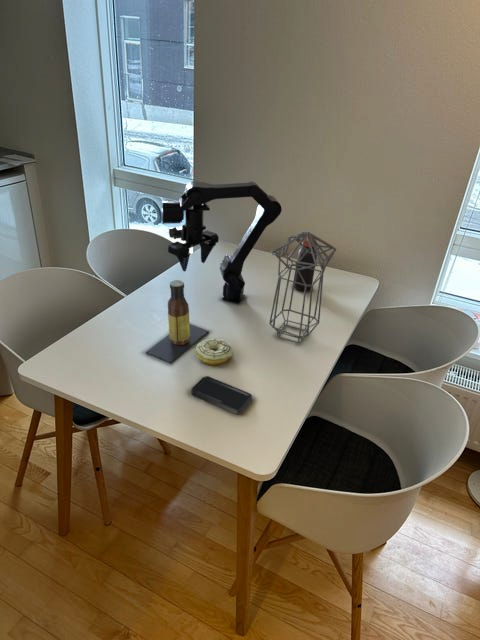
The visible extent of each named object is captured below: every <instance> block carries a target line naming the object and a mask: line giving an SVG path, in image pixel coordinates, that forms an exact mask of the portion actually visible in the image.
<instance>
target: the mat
mask: <svg viewBox="0 0 480 640" xmlns="http://www.w3.org/2000/svg"><path fill="white" fill-rule="evenodd" d="M189 324H190V340H189V342H188V343H187V344H184V345H175V344H172V342H171V341H170V337H169V334H168V335H166V336H165V337H164V338H162V339H161V340H159V341H158V342H157V343H156V344H154V345H153V346H152V347H151V348H149V349H148V350H147V351H145V354H147V355H149V356H152V357H153V358H156V359H159V360H160V361H164V362H166V363H168V364H172V363H173V362H175V361H176V360H177V359H178V358H179V357H181V356H182V355H183V354H184V353H185V352H186V351H187V350H189V349H190V348H191V347H192V346H194V345H195V344H196V343H197V342H199V341H200V340H201V339H202V338H203V337H205V336H206V335H207V333H209V330H208V329H204V328H202V327H199V326H197V325H194V324H191V323H189Z"/></svg>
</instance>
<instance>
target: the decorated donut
mask: <svg viewBox="0 0 480 640" xmlns="http://www.w3.org/2000/svg"><path fill="white" fill-rule="evenodd" d="M233 349H234V348H233V347H232V345H231V344H230V343H229V342H228V341H227V340H224V339H222V338H207V339H204V340H201V341H199V343H198V344H196V348H195V355H196V356H197V358H198V359H199V360H200V361H201V362H202V363H204V364H207V365H210V366H217V365H223V364H225V363H226V362H227V361H228V360H229V359H230V358H231V357H232V356H233V355H234V350H233Z"/></svg>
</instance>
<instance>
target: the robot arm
mask: <svg viewBox="0 0 480 640" xmlns="http://www.w3.org/2000/svg"><path fill="white" fill-rule="evenodd" d="M238 198H239V199H240V198H252V199H253V200H255V202H256V203H257V204H258V205H257V208H256V213H255V217H254V219H253V220H252V223H251V225H250V226H249V227H248V229H247V231H246V233H245V234H244V235H243V237H242V239H241V240H240V242H239V243H238V245H237V247H236V248H235V250H234V252H233V253H232V254H230V255H227V254H225V255H224V257H223V259H222V261H221V262H220V263H219V271H220V273H221V277H222V279H223V281H224V285H223V286H222V297H221V300H222V301H225V302H229V303H232V304H236V305H237V304H238V305H239V304H240V303H241V302H242V301H243V300H244V298H245V297H246V295H245V294H244V293H245V292H244V291H245V285H246V282H245V279H244V277H243V274H242V272H243V268H244V263H245V261H246V259H247V258H248V256H249V255H250V253H251V252H252V250H253V249H254V247H255V245H256V243H257V242H258V240H259V239H260V237H262V235H263V233H264V231H265V229H266V228H267V227H269V225H271V224H272V223H274V222H275V221H276V220H277V219H278V218H279V216H280V215H281V213H282V211H283V208H282V205H281V203H280V202H279V201H278V200H277V199H276V197H275V196H274V195H272V194H271V195H269V194H267V192H265V191H264V190H263V189H262V188H261V187H260V186H259V185H258V183H256V182H255V181H249V182H234V183H219V184H215V183H214V184H212V183H207V182H203V181H195V180H193V181H189V182H188V183H187V184H186V185H185V188H184V192H183V193H182V194H181V196H180V197H179V198H178V201H167V200H162V206H161V223H162V224H181V223H183V221H184V219H185V223H184V224H182V225H181V226H179V227H176V226H174V227H172V226H171V227H170V228H168V236H169V238H170V239H172V238H173V240H176V239H180V241H178V240H177V241H175V242H172V243H169V244H168V245H167V253H168V254H171V255H173V256H175V257H176V258H177V261H178V263H179V265H180V268H181V270H182V271H183V272H187V269H188V265H189V261H190V256H191V255H190V254H189V253H190V249H192V248H194V247H197V246H200V261H201V263H202V264H205V263H206V261H207V259H208V257H209V256H210V254H211V252H212V250H213V249H214V248H215V246H216V245H217V244H218V243H219V239H220V237H219V235H218V234H217V233H216V232H213V231H211V230H208V229H207V226H206V225H204V211H205V212H206V211H210V210H211V208H210V206H209V205H208V203H209V202H212V201H214V200H220V199H221V200H224V199H238ZM206 229H207V230H206ZM181 241H182V242H181ZM183 242H184V243H183Z"/></svg>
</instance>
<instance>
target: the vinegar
mask: <svg viewBox="0 0 480 640" xmlns="http://www.w3.org/2000/svg"><path fill="white" fill-rule="evenodd" d="M315 241H316V242H318V240H316V239H315ZM306 242H308V238H306ZM301 243H302V244H303V242H301ZM311 244H312V241H311ZM304 246H305V247H306V248H307V249H309V246H310V245H309V244H306V243H305V244H304ZM312 249H313V252H314V253H315V254H316V251H317V250H316V251H315V249H314V246H313V244H312ZM300 250H301V248H299V250H298V251H297V257H298V256H299V253H300ZM309 251H310V252H311V249H310V250H309ZM305 252H306V250H305V249H304V248H303V250H302V253H301V256H300V258H301V257H302V256H303V255H304V253H305ZM314 256H315V255H314ZM315 259H316V260H317V259H318V257H317V256H315ZM300 262H305V263H311V264H315V263H314V259H313V256H312V254H310V253H308V252H307V254H306V255H305V256H304V257H303V258H302V259H301V261H300ZM298 265H301V266H305V267H307V266H311V265H305V264H299V263H298ZM298 268H303V267H300V266H297V269H298ZM311 268H312V269H316V266H315V267H311ZM299 271H300V273H301V275H302V277H303V279H304V281H305V283H306V285H312V284H313V282H314V275H315V270H311V269H308V268H307V269H302V270H299ZM295 282H298V283H301V284H304V283H303V281H302V279H301V277H300V275H299V273H298V271H297V273H296V279H295ZM294 290H296V291H298V292H301V293H304V290H305V286H304V285H300V284H297V283H295V285H294ZM307 292H311V287H308V286H307V288H306V293H307Z"/></svg>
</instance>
